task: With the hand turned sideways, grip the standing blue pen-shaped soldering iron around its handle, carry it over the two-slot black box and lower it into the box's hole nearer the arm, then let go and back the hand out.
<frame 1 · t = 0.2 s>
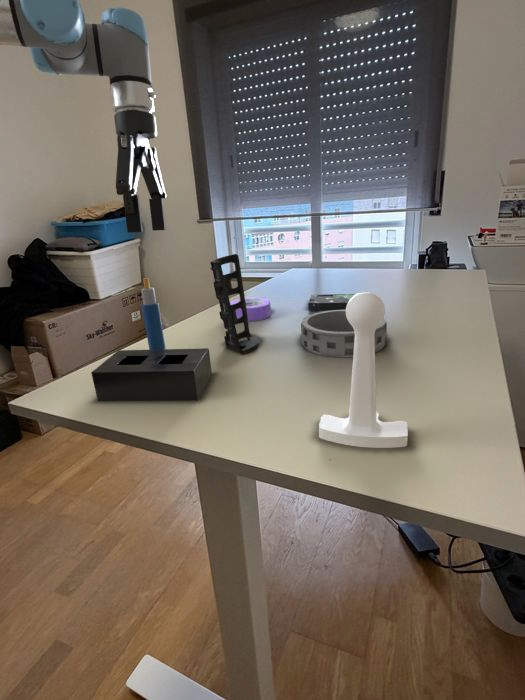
hand: (148, 231, 83), 26 cm above the table, tool pointing down, fingers open, 13 cm apart
joystick: (362, 436, 55), on the table
ring: (342, 343, 89), on the table
tape roll: (250, 316, 115), on the table
holder: (239, 347, 91), on the table
soldering iron: (160, 364, 84), on the table
two-slot black box: (158, 390, 72), on the table
disk drive: (335, 307, 117), on the table
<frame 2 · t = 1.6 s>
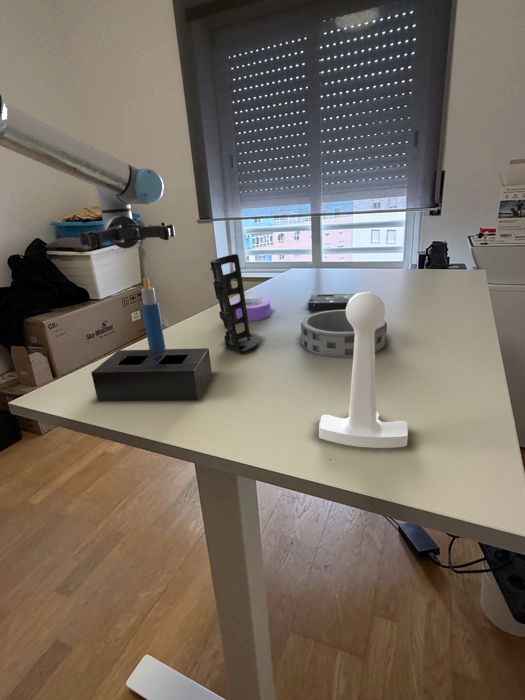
hand: (133, 236, 83), 25 cm above the table, tool horizontal, fingers open, 13 cm apart
nothing on the table moved.
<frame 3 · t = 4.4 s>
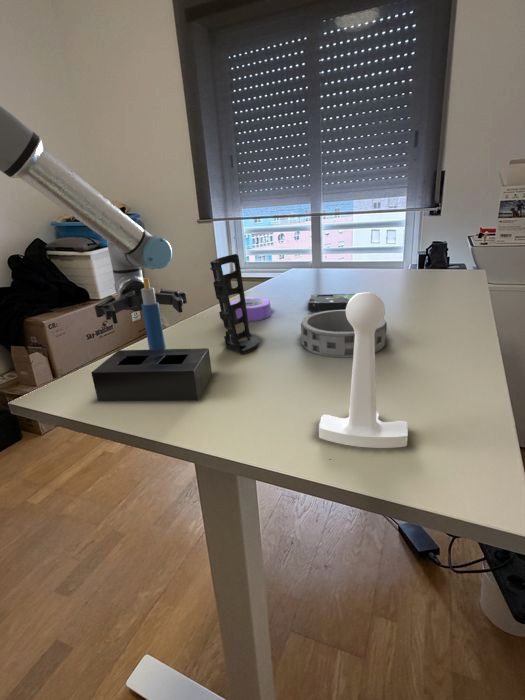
hand: (148, 311, 85), 10 cm above the table, tool horizontal, fingers open, 13 cm apart
nothing on the table moved.
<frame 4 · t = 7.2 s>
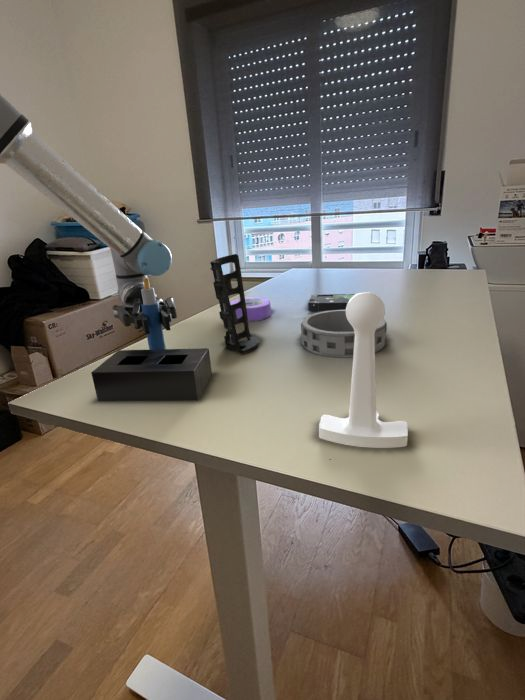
hand: (157, 325, 76), 10 cm above the table, tool horizontal, fingers closed on soldering iron, 3 cm apart
soldering iron: (160, 364, 84), on the table, touching gripper
everything else where it was.
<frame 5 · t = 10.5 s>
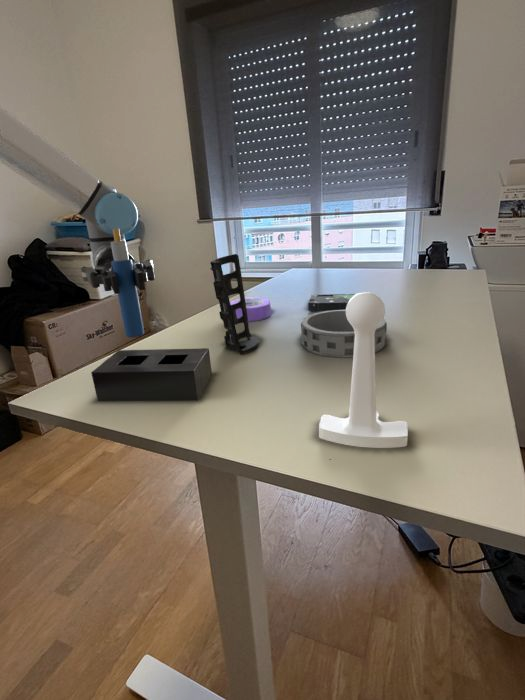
hand: (128, 283, 64), 20 cm above the table, tool horizontal, fingers closed on soldering iron, 3 cm apart
soldering iron: (135, 334, 72), point 10 cm above the table, touching gripper
everything else where it was.
when the fingers open (10 cm above the table, at t = 13.8 s): soldering iron stays where it is, resting in two-slot black box.
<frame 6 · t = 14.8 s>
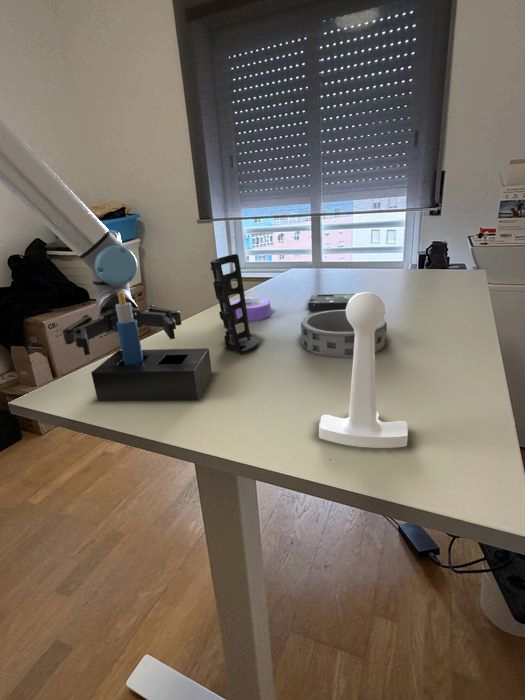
hand: (130, 338, 66), 11 cm above the table, tool horizontal, fingers open, 13 cm apart
soldering iron: (139, 390, 73), resting in two-slot black box
everything else where it was.
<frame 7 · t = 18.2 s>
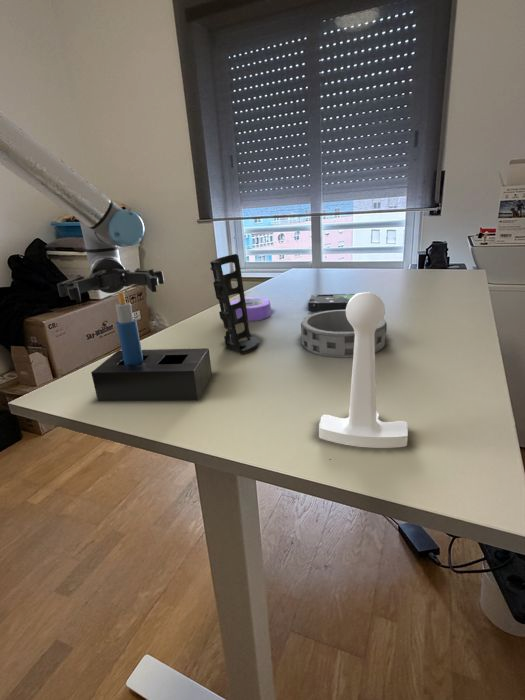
hand: (116, 290, 75), 17 cm above the table, tool horizontal, fingers open, 13 cm apart
nothing on the table moved.
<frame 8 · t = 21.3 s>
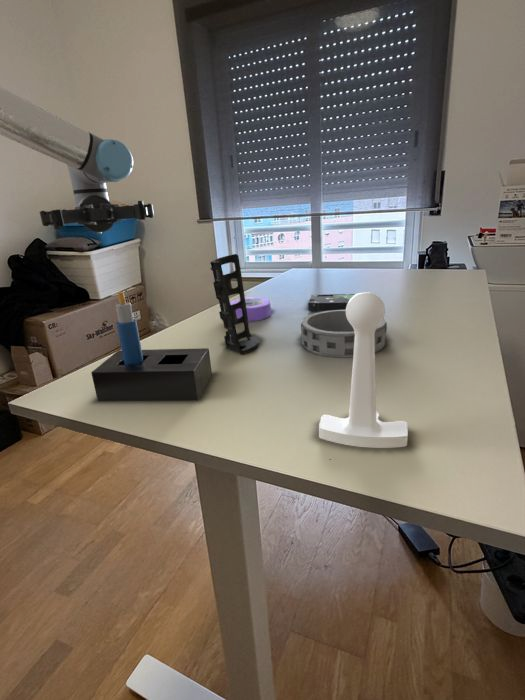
hand: (102, 214, 71), 30 cm above the table, tool horizontal, fingers open, 13 cm apart
nothing on the table moved.
at the end: soldering iron 0.1 cm from the target spot in the two-slot black box, point 0.0 cm above the two-slot black box's base; soldering iron tilted 0°; the gripper is holding nothing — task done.
